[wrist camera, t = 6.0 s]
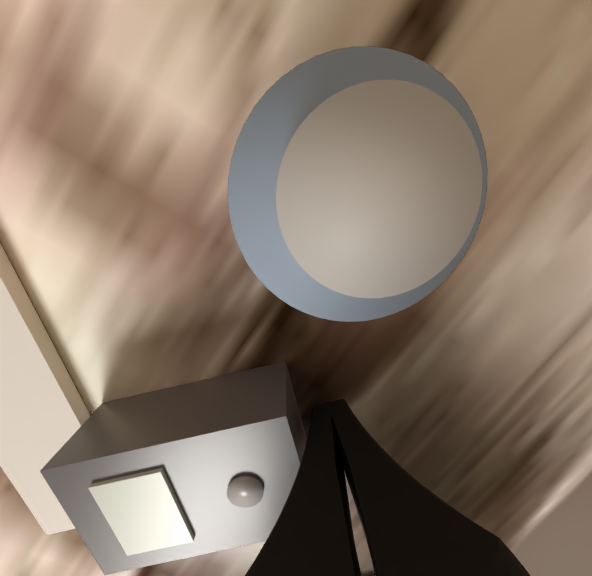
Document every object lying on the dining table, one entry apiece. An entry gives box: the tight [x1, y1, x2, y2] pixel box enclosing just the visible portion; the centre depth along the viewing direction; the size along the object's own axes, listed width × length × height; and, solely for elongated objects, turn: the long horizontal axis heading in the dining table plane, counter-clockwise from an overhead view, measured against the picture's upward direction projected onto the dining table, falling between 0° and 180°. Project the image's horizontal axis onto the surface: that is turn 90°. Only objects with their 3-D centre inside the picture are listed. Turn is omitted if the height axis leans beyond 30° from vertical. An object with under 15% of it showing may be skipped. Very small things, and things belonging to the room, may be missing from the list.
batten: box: [0, 244, 90, 535], centre depth 11 cm, size 16×4×1 cm, turn 13°
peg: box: [228, 46, 487, 322], centre depth 7 cm, size 3×3×8 cm
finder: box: [40, 361, 307, 575], centre depth 11 cm, size 5×8×4 cm, turn 103°
